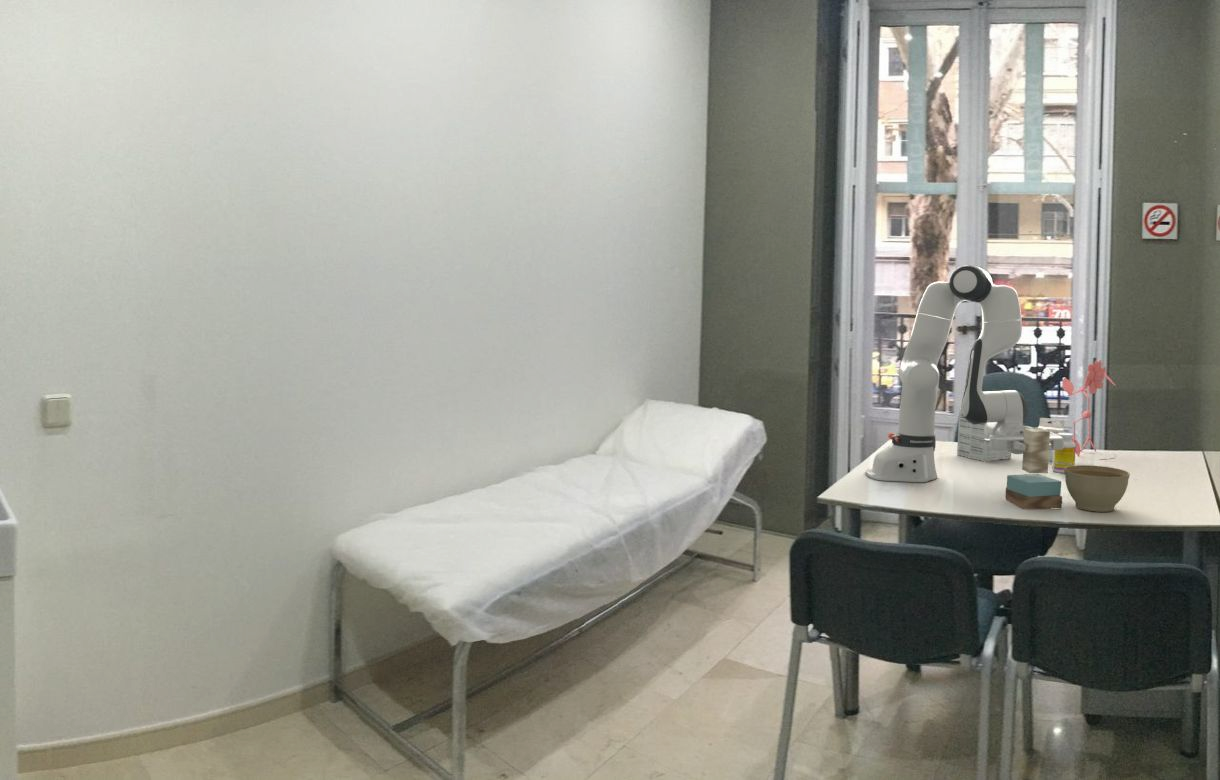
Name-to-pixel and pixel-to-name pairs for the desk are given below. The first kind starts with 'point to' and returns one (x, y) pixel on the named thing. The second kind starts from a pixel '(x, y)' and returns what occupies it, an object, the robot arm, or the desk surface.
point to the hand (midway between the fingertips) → (1037, 447)
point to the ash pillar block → (1036, 450)
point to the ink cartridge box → (1052, 429)
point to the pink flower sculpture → (1093, 382)
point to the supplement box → (976, 442)
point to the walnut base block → (1033, 501)
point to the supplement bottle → (1064, 454)
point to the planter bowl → (1096, 486)
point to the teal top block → (1033, 485)
